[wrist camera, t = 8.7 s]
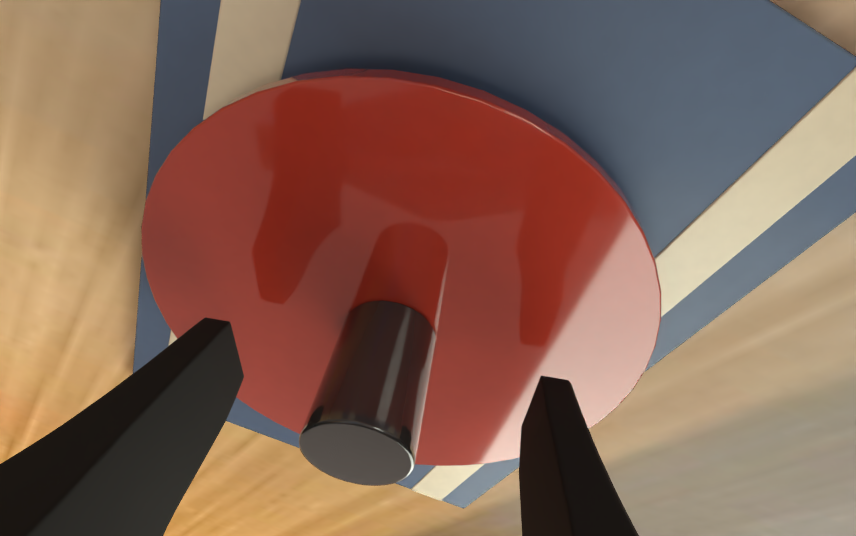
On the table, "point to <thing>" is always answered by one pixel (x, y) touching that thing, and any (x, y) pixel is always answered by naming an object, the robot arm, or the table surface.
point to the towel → (570, 126)
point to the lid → (401, 266)
